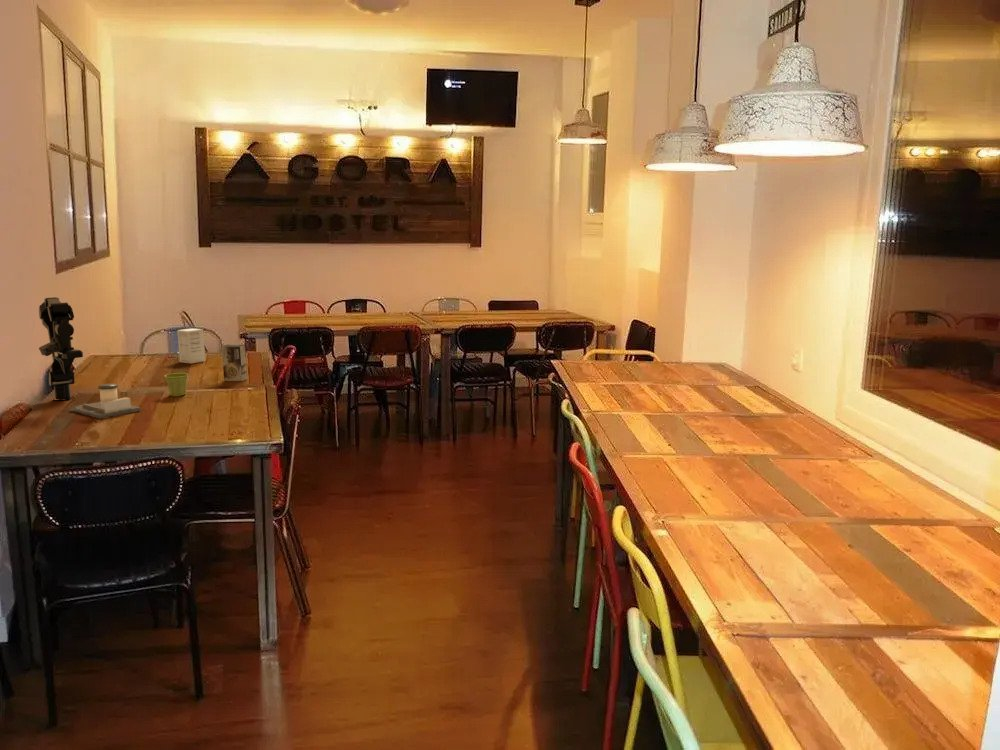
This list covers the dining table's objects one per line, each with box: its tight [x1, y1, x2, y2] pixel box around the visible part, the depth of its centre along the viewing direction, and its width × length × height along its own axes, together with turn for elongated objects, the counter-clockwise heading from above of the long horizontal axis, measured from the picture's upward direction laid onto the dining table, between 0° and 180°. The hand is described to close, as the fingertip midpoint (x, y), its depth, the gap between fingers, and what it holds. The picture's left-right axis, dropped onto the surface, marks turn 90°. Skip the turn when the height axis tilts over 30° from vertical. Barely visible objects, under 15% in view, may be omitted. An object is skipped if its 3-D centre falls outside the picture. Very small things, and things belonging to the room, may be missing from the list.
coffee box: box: [220, 344, 248, 382], centre depth 377 cm, size 9×6×16 cm
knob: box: [97, 383, 119, 402], centre depth 315 cm, size 7×7×9 cm
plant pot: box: [164, 372, 189, 397], centre depth 346 cm, size 9×9×9 cm
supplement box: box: [176, 327, 207, 364], centre depth 424 cm, size 10×9×17 cm
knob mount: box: [70, 397, 141, 420], centre depth 318 cm, size 22×16×6 cm
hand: (66, 373), depth 324 cm, fingers closed
